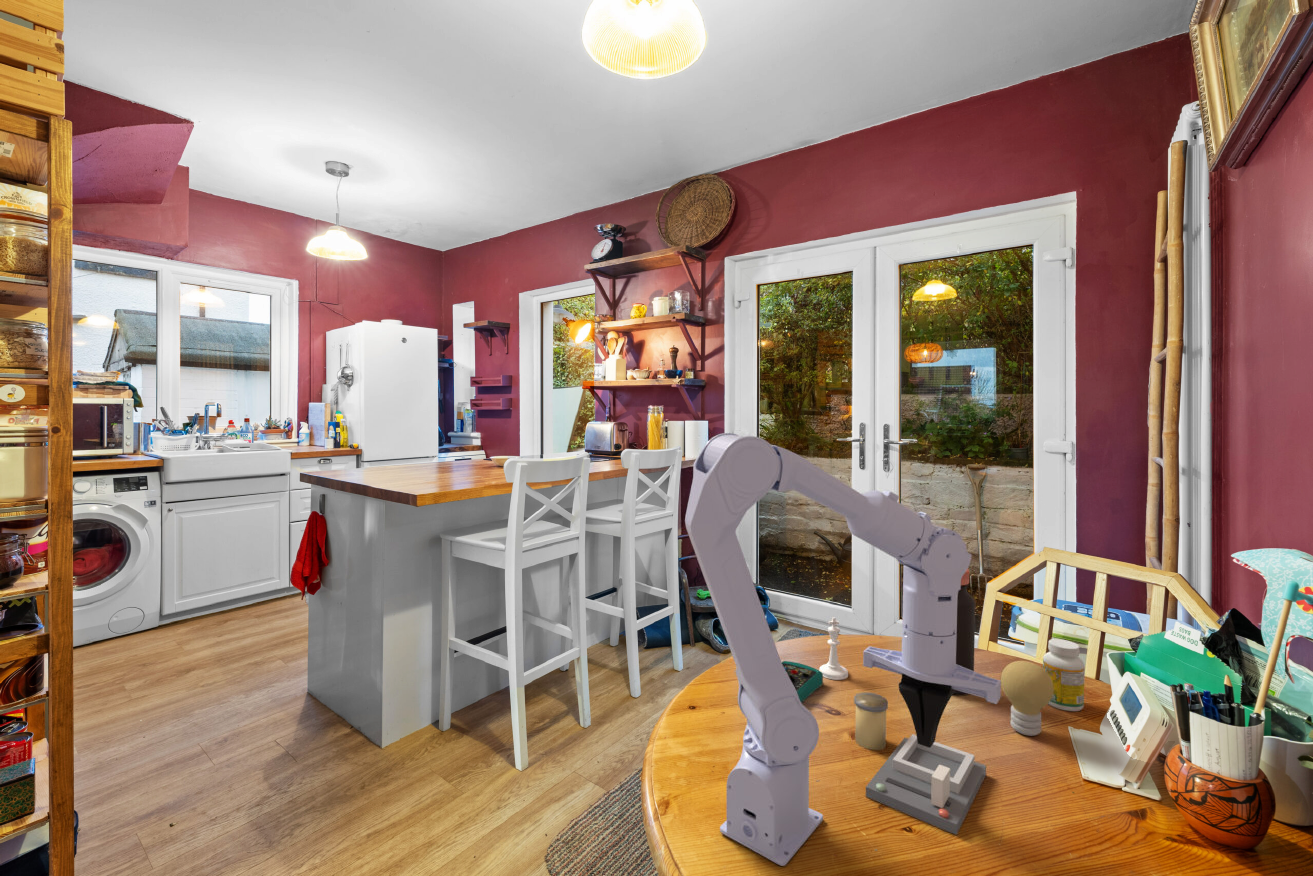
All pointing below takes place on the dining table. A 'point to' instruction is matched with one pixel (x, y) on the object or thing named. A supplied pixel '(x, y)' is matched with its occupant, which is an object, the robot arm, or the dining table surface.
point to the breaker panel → (927, 782)
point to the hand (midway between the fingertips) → (926, 742)
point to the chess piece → (833, 656)
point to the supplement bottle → (1065, 674)
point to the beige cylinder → (870, 720)
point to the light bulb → (1026, 694)
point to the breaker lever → (940, 786)
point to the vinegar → (965, 628)
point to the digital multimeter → (803, 678)
